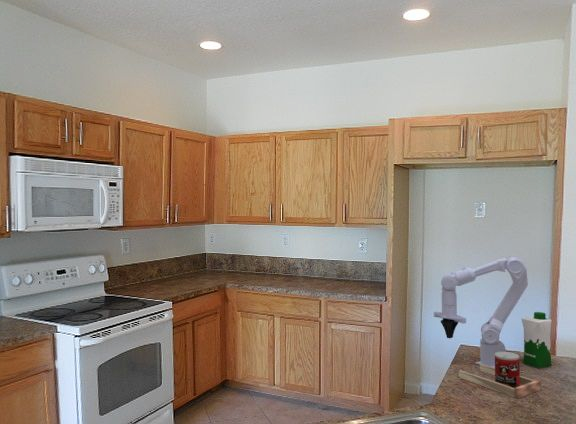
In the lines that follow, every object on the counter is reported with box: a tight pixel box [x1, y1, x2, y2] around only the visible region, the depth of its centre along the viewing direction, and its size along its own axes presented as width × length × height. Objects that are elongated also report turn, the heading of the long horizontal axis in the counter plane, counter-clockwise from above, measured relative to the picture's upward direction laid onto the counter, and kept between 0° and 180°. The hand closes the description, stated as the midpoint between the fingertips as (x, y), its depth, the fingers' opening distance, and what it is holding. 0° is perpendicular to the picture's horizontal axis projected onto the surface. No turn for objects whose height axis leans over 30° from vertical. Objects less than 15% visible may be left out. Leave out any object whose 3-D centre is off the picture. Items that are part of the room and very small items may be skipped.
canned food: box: [494, 351, 521, 388], centre depth 157 cm, size 8×8×11 cm
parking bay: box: [458, 364, 542, 399], centre depth 160 cm, size 13×23×3 cm, turn 32°
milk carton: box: [521, 311, 553, 370], centre depth 178 cm, size 9×9×20 cm
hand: (449, 337), depth 185 cm, fingers closed
